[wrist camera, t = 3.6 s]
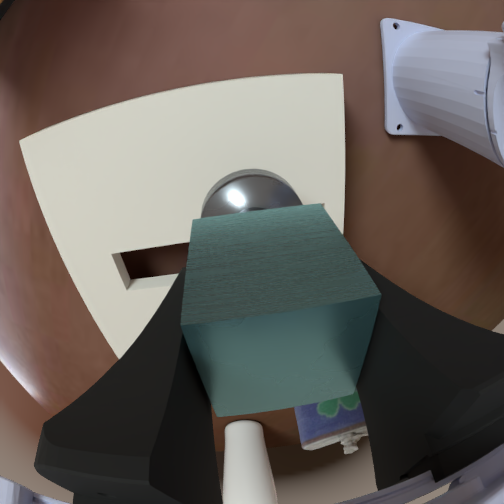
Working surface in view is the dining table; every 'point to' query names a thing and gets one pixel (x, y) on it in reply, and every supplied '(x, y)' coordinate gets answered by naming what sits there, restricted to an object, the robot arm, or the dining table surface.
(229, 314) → the peg
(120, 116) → the keyhole plate
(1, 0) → the ammunition clip
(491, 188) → the dining table surface
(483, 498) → the robot arm
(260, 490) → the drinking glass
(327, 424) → the flask
